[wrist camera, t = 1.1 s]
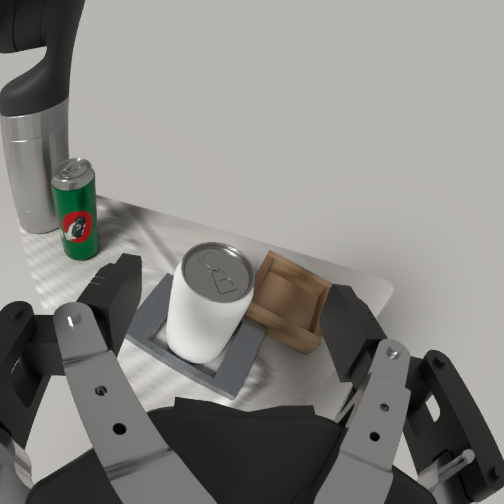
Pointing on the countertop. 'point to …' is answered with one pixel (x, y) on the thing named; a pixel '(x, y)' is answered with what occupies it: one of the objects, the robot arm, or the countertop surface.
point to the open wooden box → (288, 302)
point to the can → (208, 300)
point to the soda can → (76, 207)
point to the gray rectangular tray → (222, 383)
